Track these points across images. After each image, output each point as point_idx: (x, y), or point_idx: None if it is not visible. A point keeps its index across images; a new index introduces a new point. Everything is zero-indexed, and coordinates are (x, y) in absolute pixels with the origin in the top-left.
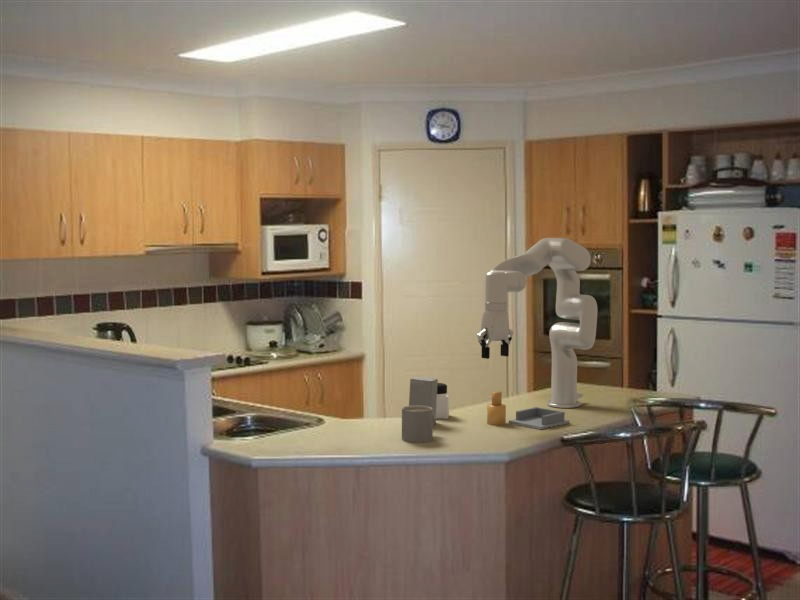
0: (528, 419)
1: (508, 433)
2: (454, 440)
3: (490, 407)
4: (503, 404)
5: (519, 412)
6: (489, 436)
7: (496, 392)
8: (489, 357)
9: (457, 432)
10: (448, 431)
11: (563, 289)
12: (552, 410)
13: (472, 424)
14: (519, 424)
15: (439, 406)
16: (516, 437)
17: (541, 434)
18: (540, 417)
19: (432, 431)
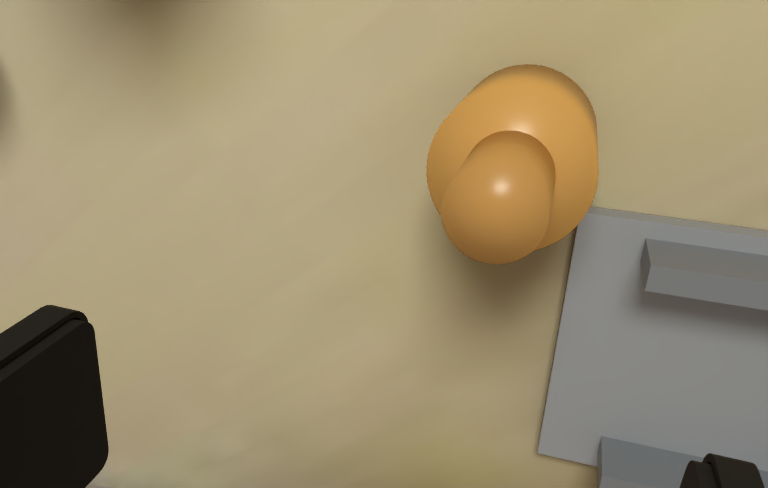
0: (717, 303)
1: (335, 338)
2: (22, 201)
3: (429, 161)
4: (578, 206)
5: (655, 288)
6: (209, 293)
7: (482, 219)
8: (99, 471)
9: (145, 97)
10: (121, 35)
11: None
12: None
13: (384, 15)
14: (564, 298)
15: None
16: (292, 408)
17: (437, 479)
18: None
19: None
